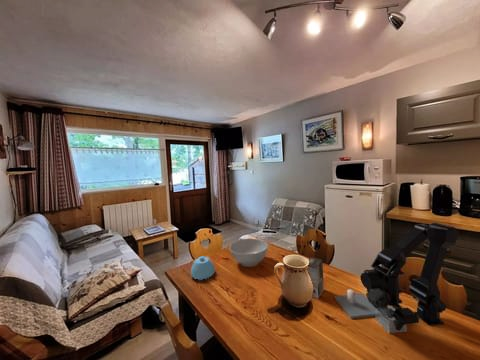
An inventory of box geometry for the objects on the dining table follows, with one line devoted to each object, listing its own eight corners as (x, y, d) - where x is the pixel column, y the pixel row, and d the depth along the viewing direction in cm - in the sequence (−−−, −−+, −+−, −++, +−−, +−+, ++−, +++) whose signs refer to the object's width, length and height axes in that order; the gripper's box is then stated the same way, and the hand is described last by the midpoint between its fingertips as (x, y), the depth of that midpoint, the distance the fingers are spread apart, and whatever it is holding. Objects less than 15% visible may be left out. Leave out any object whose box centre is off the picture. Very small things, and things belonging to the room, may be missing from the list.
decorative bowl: (225, 259, 143) (223, 243, 142) (257, 251, 154) (256, 236, 153) (240, 277, 119) (239, 258, 118) (277, 265, 130) (276, 247, 129)
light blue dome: (213, 280, 117) (211, 262, 117) (188, 282, 118) (186, 263, 117) (216, 267, 132) (215, 251, 132) (194, 269, 133) (193, 252, 132)
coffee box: (311, 285, 107) (310, 256, 106) (324, 289, 102) (323, 259, 101) (305, 294, 100) (304, 263, 98) (318, 299, 95) (317, 267, 94)
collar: (391, 317, 82) (391, 305, 81) (406, 331, 75) (406, 318, 74) (375, 319, 81) (375, 307, 81) (389, 333, 74) (388, 320, 74)
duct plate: (362, 295, 96) (362, 282, 96) (383, 315, 83) (382, 300, 83) (334, 298, 95) (334, 285, 95) (351, 318, 82) (350, 304, 82)
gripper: (354, 273, 86) (355, 307, 87) (389, 303, 67) (390, 346, 68) (379, 271, 86) (379, 305, 87) (420, 300, 68) (420, 342, 69)
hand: (390, 322), depth 78 cm, fingers closed on collar, 7 cm apart
